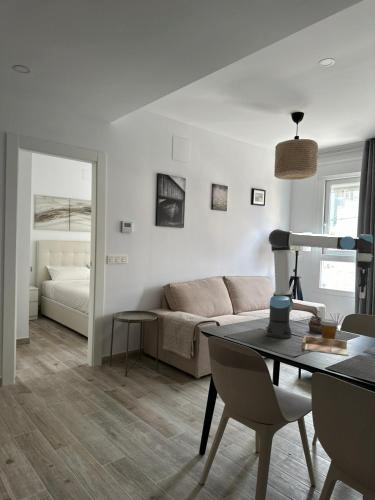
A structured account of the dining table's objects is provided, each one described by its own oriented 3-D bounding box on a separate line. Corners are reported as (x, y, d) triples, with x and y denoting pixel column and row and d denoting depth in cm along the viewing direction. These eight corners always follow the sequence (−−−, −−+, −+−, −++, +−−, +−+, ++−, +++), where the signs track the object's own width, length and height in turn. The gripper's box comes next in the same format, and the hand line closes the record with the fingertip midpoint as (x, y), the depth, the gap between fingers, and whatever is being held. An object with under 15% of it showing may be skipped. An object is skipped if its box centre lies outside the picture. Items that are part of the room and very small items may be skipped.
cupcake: (327, 333, 226) (327, 317, 226) (315, 334, 222) (316, 318, 222) (316, 329, 235) (317, 314, 235) (304, 330, 231) (305, 315, 231)
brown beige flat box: (302, 349, 186) (302, 342, 186) (303, 342, 200) (304, 335, 200) (348, 355, 178) (348, 348, 178) (346, 348, 192) (346, 340, 192)
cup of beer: (336, 340, 208) (337, 320, 207) (337, 344, 199) (338, 323, 198) (319, 338, 211) (320, 318, 211) (319, 342, 202) (320, 321, 202)
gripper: (371, 261, 196) (369, 300, 196) (371, 260, 218) (369, 295, 218) (356, 260, 199) (354, 298, 199) (358, 260, 221) (356, 293, 222)
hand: (362, 296), depth 209 cm, fingers open, 13 cm apart
